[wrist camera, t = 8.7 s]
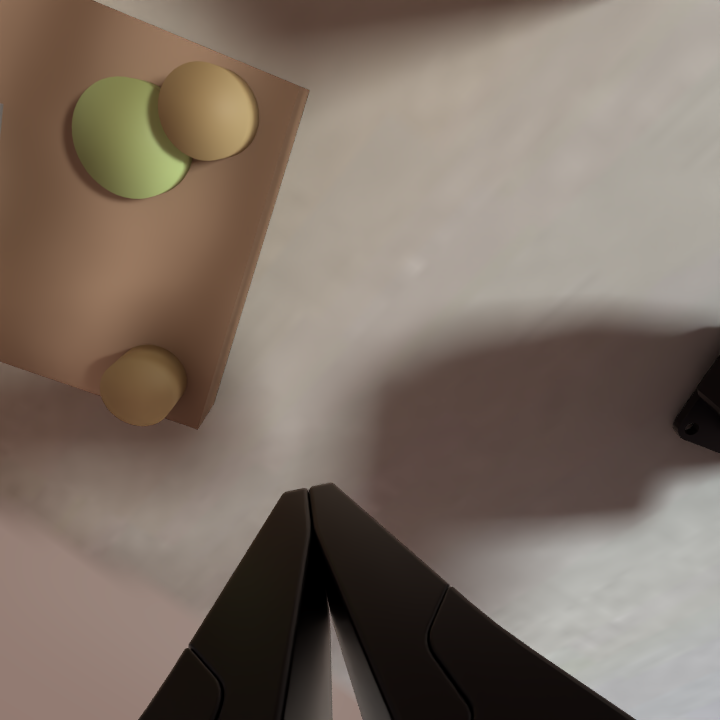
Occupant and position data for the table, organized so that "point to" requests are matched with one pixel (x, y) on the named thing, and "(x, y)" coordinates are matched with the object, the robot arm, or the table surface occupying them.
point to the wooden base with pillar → (131, 203)
